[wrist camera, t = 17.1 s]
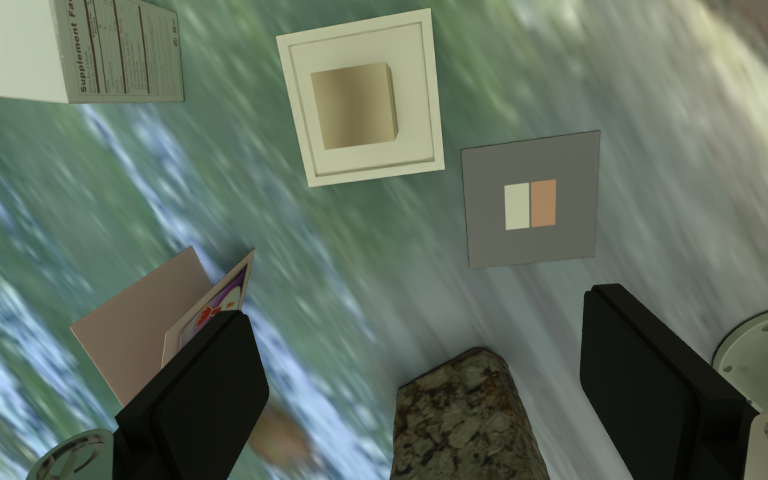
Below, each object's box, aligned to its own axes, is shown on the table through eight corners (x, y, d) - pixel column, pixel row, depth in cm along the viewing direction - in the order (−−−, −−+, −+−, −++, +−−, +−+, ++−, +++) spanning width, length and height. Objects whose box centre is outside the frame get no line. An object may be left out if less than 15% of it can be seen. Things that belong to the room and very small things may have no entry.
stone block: (425, 423, 46) (435, 646, 27) (388, 387, 44) (372, 598, 25) (517, 370, 42) (601, 587, 23) (480, 329, 40) (539, 526, 22)
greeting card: (243, 336, 43) (162, 450, 29) (181, 316, 43) (68, 422, 29) (262, 250, 39) (178, 336, 25) (194, 228, 38) (69, 301, 24)
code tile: (599, 130, 32) (600, 130, 32) (592, 255, 36) (594, 256, 36) (460, 149, 34) (461, 150, 34) (469, 268, 38) (469, 269, 38)
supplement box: (109, 94, 34) (-50, 92, 22) (95, 2, 32) (-93, -56, 20) (187, 104, 34) (68, 107, 22) (180, 12, 31) (41, -41, 20)
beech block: (391, 70, 31) (385, 61, 24) (398, 131, 33) (394, 140, 26) (334, 79, 32) (310, 73, 24) (343, 138, 34) (324, 150, 26)
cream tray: (429, 12, 30) (430, 7, 29) (443, 166, 34) (444, 169, 33) (281, 39, 32) (275, 36, 30) (312, 183, 36) (308, 187, 34)
